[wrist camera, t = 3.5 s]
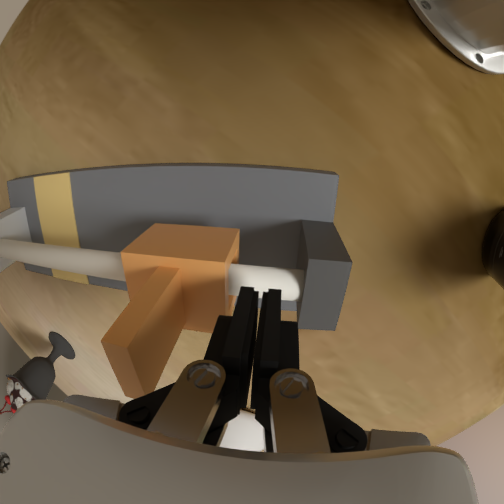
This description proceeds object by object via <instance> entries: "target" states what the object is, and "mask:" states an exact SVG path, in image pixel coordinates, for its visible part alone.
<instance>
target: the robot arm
mask: <svg viewBox="0 0 504 504" xmlns="http://www.w3.org/2000/svg"><path fill="white" fill-rule="evenodd" d="M408 1H409V3H410V5H411V7H412V8H413V9H414V11H415V12H416V13H417V15H418V16H419V18H420V19H421V20H422V22H423V23H424V24H425V25H426V26H427V28H428V29H429V30H430V31H431V33H432V34H433V35H434V36H435V37H436V38H437V39H438V40H439V41H440V42H441V43H442V44H443V45H444V46H445V47H446V48H447V49H449V50H450V51H451V52H452V53H453V54H454V55H455V56H457V57H458V58H459V59H461V60H462V61H463V62H465V63H466V64H468V65H470V66H471V67H473V68H475V69H476V70H479V71H481V72H484V73H487V74H494V75H496V74H504V0H408ZM281 292H282V290H281V289H268V292H263V295H262V303H261V310H260V317H259V324H258V331H257V317H258V300H259V291H254V287H245V286H241V287H240V291H239V295H238V298H237V302H236V306H235V310H234V313H233V316H225V315H219V316H218V318H217V321H216V324H215V327H214V330H213V333H212V336H211V339H210V342H209V345H208V348H207V351H206V354H205V357H204V360H197V361H194V362H192V363H190V364H188V365H187V366H186V367H185V368H184V370H183V371H182V373H181V375H180V376H179V378H178V379H177V381H176V382H175V383H173V384H170V385H168V386H166V387H163V388H161V389H159V390H156V391H154V392H151V393H149V394H146V395H144V396H141V397H139V398H136V399H134V400H131V401H129V402H127V403H126V404H123V403H121V402H120V401H118V400H109V399H102V398H95V397H88V396H83V395H71V396H68V397H67V398H66V399H65V400H64V401H63V402H61V401H55V400H43V399H42V400H32V401H29V402H26V403H25V404H23V405H22V406H21V407H20V408H19V409H18V410H17V411H16V412H15V413H14V414H13V415H12V417H11V418H10V419H9V421H8V422H7V423H6V425H5V426H4V428H3V429H2V431H1V433H0V504H478V499H477V494H476V489H475V485H474V482H473V478H472V475H471V473H470V470H469V467H468V465H467V464H466V462H465V460H464V459H463V457H462V456H461V455H460V454H459V453H457V452H455V451H453V450H450V449H446V448H442V447H437V446H430V441H429V440H428V438H427V437H426V436H425V435H423V434H422V433H417V432H399V431H386V430H375V429H372V430H371V431H364V430H363V429H362V428H361V427H360V426H358V425H357V424H355V423H354V422H353V421H351V420H350V419H348V418H347V417H346V416H344V415H343V414H341V413H340V412H339V411H337V410H336V409H335V408H333V407H332V406H331V405H329V404H328V403H327V402H325V401H324V400H323V399H321V398H320V397H319V396H317V394H316V390H315V386H314V382H313V380H312V378H311V377H310V376H309V375H308V374H307V373H305V372H303V371H302V370H299V338H298V322H292V321H281ZM256 333H257V338H256ZM253 359H254V361H253ZM252 366H253V375H252V391H251V407H250V409H256V410H255V419H256V420H257V421H258V422H259V423H260V424H261V425H262V426H263V440H264V452H258V451H248V450H239V449H231V448H224V447H219V446H220V444H221V441H222V439H223V436H224V434H225V432H226V429H227V427H228V422H229V421H230V420H232V419H234V418H236V417H237V415H240V409H241V408H246V405H247V399H248V392H249V386H250V379H251V372H252Z"/></svg>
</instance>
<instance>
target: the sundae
mask: <svg viewBox="0 0 504 504" xmlns="http://www.w3.org/2000/svg"><path fill="white" fill-rule="evenodd" d="M49 340H50V342H51V344H52V345H53V350H52V352H51V354H50V355H49V356H48V357H47V358H44V357H34V358H33V359H31V360H30V361H28V362H27V363H26V364H25V365H24V366H23V367H22V368H21V369H20V370H18V371H17V372H16V373H15V374H14V375H6V376H7V378H8V380H9V381H8V383H7V392H8V395H7V396H5V400H6V402H5V405H4V407H5V406H6V403H8V404H9V405H11V411H4V412H13V413H15V412H16V411H17V410H18V409H19V408H20V407H21V406H22V405H23V404H25V403H26V402H29V401H32V400H42V399H43V400H46V397H47V395H48V393H49V391H50V389H51V387H52V384H53V382H54V379H55V370H54V366H53V363H54V362H55V360H56V359H57V358H58V357H59V356H61V355H62V356H64V357H65V358H68V359H74V358H75V353H74V350H73V348H72V347H71V345H70V344H69V343H68V342H67V340H65V339H64V338H63V337H62V336H61V335H59V334H57V333H55V332H51V333H49ZM4 407H3V408H2V409H1V410H0V414H2V413H4V412H1V411H2V410H3V409H4Z"/></svg>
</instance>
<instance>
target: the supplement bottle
mask: <svg viewBox="0 0 504 504" xmlns="http://www.w3.org/2000/svg"><path fill="white" fill-rule="evenodd" d="M482 259H483V264H484V267H485V269H486V271H487V272H488V273H489V275H490V276H491V277H492V278H493V279H494V280H495V281H496V282H497V283H498V284H499V285H500V286H501V287H502V288H503V289H504V210H503V211H501V212H500V213H499V214H498V215H497V216H496V217H495V218H494V219H493V221H492V222H491V224H490V226H489V228H488V230H487V232H486V235H485V238H484V242H483V248H482Z"/></svg>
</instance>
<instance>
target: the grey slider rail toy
mask: <svg viewBox="0 0 504 504" xmlns="http://www.w3.org/2000/svg"><path fill="white" fill-rule="evenodd" d="M338 180H339V175H338V174H336V173H335V172H330V171H322V170H313V169H303V168H292V167H280V166H266V165H248V164H222V163H160V164H135V165H118V166H104V167H93V168H83V169H74V170H65V171H57V172H50V173H43V174H37V175H31V176H25V177H19V178H15V179H13V180H10V181H7V186H8V193H9V200H10V206H11V208H9V209H7V210H5V211H3V212H1V213H0V272H2V271H3V270H4V269H6V268H7V267H8V266H10V265H11V264H13V263H14V262H15V261H19V262H24V265H25V268H26V270H29V271H33V272H37V273H42V274H46V275H50V276H54V277H55V278H60V279H64V280H69V281H73V282H78V283H83V284H88V285H89V284H93V285H99V286H104V287H109V288H115V289H121V290H126V291H128V289H127V284H126V279H125V275H124V269H123V264H122V259H121V253H120V252H121V251H122V250H123V249H125V248H126V247H127V246H128V245H129V244H130V243H132V242H133V241H134V240H135V239H136V238H138V237H139V236H140V235H141V234H142V233H144V232H145V231H146V230H147V229H149V228H150V227H151V226H152V225H154V224H155V223H161V224H178V225H194V226H209V227H223V228H237V229H240V233H239V264H231V265H230V268H229V270H228V288H229V295H234V296H237V297H236V301H235V304H234V305H235V306H236V302H237V298H238V295H239V291H240V287H241V286H245V287H254V291H259V300H258V308H261V303H262V295H263V292H268V289H281V290H282V292H281V310H289V311H297V322H298V329H312V330H332V331H335V329H336V325H337V322H338V318H339V315H340V311H341V307H342V303H343V300H344V296H345V292H346V288H347V284H348V279H349V275H350V271H351V266H352V261H351V258H350V256H349V254H348V252H347V250H346V248H345V246H344V244H343V242H342V240H341V238H340V236H339V234H338V232H337V230H336V228H335V226H334V224H333V219H334V212H335V204H336V197H337V189H338Z"/></svg>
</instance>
